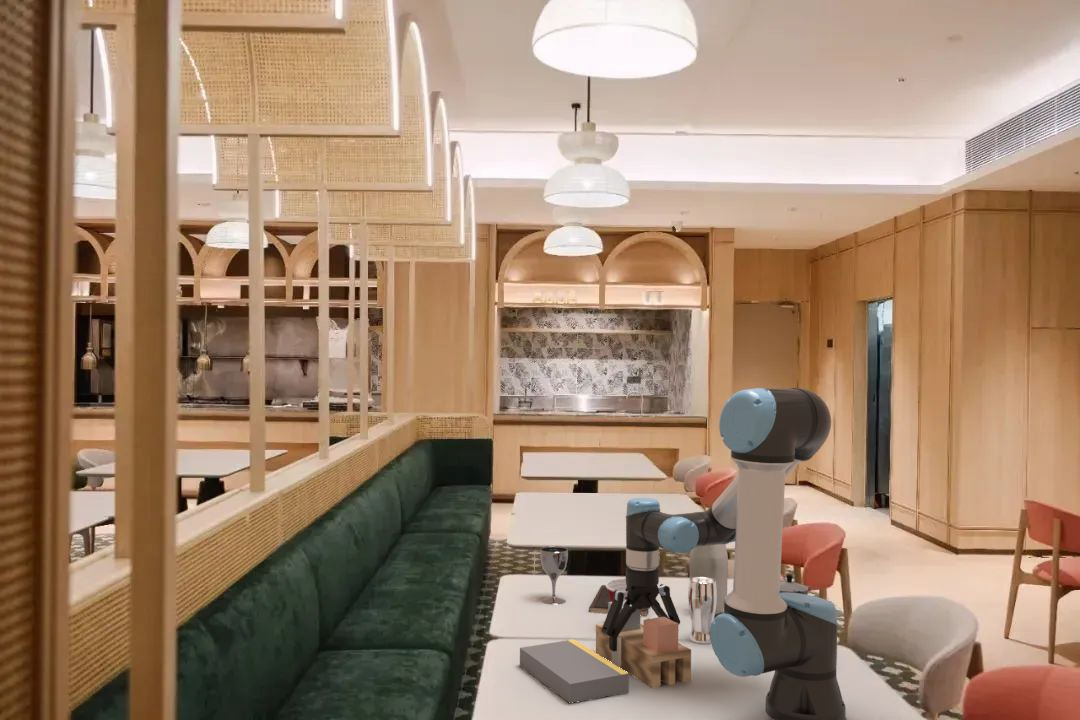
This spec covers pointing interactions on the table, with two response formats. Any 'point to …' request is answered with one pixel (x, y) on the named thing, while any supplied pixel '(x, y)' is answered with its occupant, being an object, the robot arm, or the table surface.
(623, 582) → the plastic cup
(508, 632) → the table surface
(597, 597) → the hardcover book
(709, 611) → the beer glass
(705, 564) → the grey bottle
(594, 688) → the block
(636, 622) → the grey block
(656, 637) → the salmon pink cube
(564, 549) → the wine glass
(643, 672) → the pallet
